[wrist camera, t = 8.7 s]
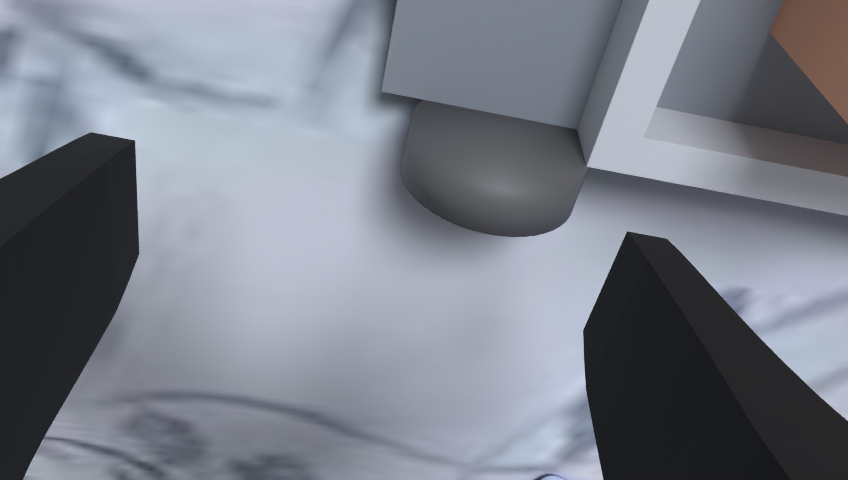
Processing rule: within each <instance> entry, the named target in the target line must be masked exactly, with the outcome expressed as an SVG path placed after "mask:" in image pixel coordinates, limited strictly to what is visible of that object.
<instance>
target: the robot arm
mask: <svg viewBox="0 0 848 480" xmlns="http://www.w3.org/2000/svg"><path fill="white" fill-rule="evenodd" d="M138 255H139V238H138V211H137V183H136V156H135V141H134V140H129V139H124V138H118V137H113V136H107V135H102V134H97V133H89V134H86V135H84V136H82V137H80V138H78V139H76V140H74V141H72V142H70V143H68V144H66V145H64V146H62V147H60V148H58V149H56V150H54V151H52V152H50V153H49V154H47V155H45V156H43V157H41V158H39V159H37V160H35V161H34V162H32V163H30V164H28V165H26V166H24V167H22V168H20V169H18V170H17V171H15V172H13V173H11V174H9V175H7V176H5V177H3V178H1V179H0V480H23V478H24V476H25V473H26V471H27V469H28V467H29V465H30V463H31V461H32V459H33V457H34V455H35V453H36V451H37V449H38V447H39V445H40V444H41V442H42V440H43V438H44V436H45V434H46V433H47V431H48V429H49V427H50V426H51V424H52V422H53V420H54V419H55V417H56V415H57V414H58V412H59V410H60V408H61V407H62V405H63V403H64V402H65V400H66V398H67V396H68V395H69V393H70V391H71V389H72V388H73V386H74V384H75V383H76V381H77V379H78V377H79V376H80V374H81V372H82V371H83V369H84V367H85V365H86V364H87V362H88V360H89V358H90V357H91V355H92V353H93V352H94V350H95V348H96V346H97V344H98V343H99V341H100V339H101V337H102V336H103V334H104V332H105V330H106V329H107V327H108V325H109V323H110V322H111V320H112V318H113V316H114V314H115V313H116V311H117V308H118V306H119V303H120V301H121V299H122V296H123V294H124V291H125V289H126V287H127V284H128V281H129V279H130V276H131V274H132V271H133V268H134V266H135V263H136V261H137V258H138ZM583 335H584V363H585V378H586V391H587V396H588V402H589V407H590V413H591V418H592V423H593V428H594V434H595V439H596V444H597V449H598V454H599V459H600V464H601V469H602V474H603V479H604V480H848V421H847V420H846V419H845V418H843V417H842V416H841V415H840V414H839V413H837V412H836V411H835V410H834V409H833V408H832V407H831V406H829V405H828V404H827V403H826V402H825V401H824V400H823V399H822V398H821V397H819V396H818V395H817V394H816V393H815V392H814V391H813V390H812V389H811V388H810V387H809V386H808V385H807V384H806V383H805V382H804V381H803V380H801V379H800V378H799V377H798V376H797V375H796V374H795V373H794V372H793V371H792V370H791V369H790V368H789V367H788V366H787V365H786V364H785V363H784V362H783V361H782V360H781V359H780V358H779V357H778V356H777V355H776V354H775V353H774V352H773V351H772V350H771V349H770V348H769V347H768V346H767V345H766V344H765V343H764V342H763V341H762V340H761V339H760V338H759V337H758V336H757V335H756V334H755V333H754V331H753V330H752V329H751V328H750V327H749V326H748V325H747V324H746V323H745V322H744V321H743V320H742V319H741V318H740V317H739V315H738V314H737V313H736V312H735V311H734V310H733V309H732V308H731V307H730V306H729V305H728V304H727V302H726V301H725V300H724V299H723V298H722V297H721V296H720V295H719V294H718V293H717V291H716V290H715V289H714V288H713V287H712V286H711V285H710V284H709V283H708V281H707V280H706V279H705V278H704V277H703V276H702V275H701V274H700V273H699V272H698V270H697V269H696V268H695V267H694V266H693V265H692V264H691V263H690V262H689V261H688V260H687V259H686V258H685V256H684V255H683V254H682V253H681V252H680V251H679V250H678V249H677V248H676V247H675V246H674V245H673V244H672V243H670V242H669V241H668V240H667V239H665V238H659V237H654V236H648V235H643V234H637V233H632V232H627V233H626V235H625V238H624V240H623V242H622V244H621V247H620V249H619V251H618V253H617V256H616V258H615V260H614V262H613V265H612V267H611V269H610V271H609V274H608V276H607V278H606V280H605V283H604V285H603V287H602V289H601V292H600V294H599V296H598V298H597V301H596V303H595V305H594V307H593V310H592V312H591V314H590V316H589V319H588V321H587V323H586V325H585V328H584V330H583ZM541 480H564V479H562V478H560V477H557V476H546V477H544V478H542V479H541Z"/></svg>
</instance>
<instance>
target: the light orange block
mask: <svg viewBox="0 0 848 480" xmlns="http://www.w3.org/2000/svg"><path fill="white" fill-rule="evenodd" d="M769 32H770V33H771V35H772V36H773V37H774V38H775V39H776V41H777V42H778V43H779V44H780V45H781V46H782V48H783V49H784V50H785V51H786V52H787V53H788V55H789V56H790V57H791V58H792V59H793V60H794V62H795V63H796V64H797V65H798V66H799V68H800V69H801V70H802V71H803V72H804V73H805V75H806V76H807V77H808V78H809V79H810V80H811V82H812V83H813V84H814V85H815V86H816V88H817V89H818V90H819V91H820V92H821V93H822V95H823V96H824V97H825V98H826V99H827V100H828V102H829V103H830V104H831V105H832V106H833V107H834V109H835V110H836V111H837V112H838V113H839V115H840V116H841V117H842V118H843V119H844V120H845V122H846V123H847V124H848V0H784V2H783V4H782V6H781V8H780V10H779V12H778V14H777V16H776V18H775V20H774V22H773V24H772V26H771V28H770V31H769Z"/></svg>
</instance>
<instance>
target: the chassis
mask: <svg viewBox="0 0 848 480" xmlns="http://www.w3.org/2000/svg"><path fill="white" fill-rule="evenodd" d="M783 2H784V0H397V4H396V10H395V16H394V21H393V27H392V33H391V39H390V44H389V50H388V56H387V62H386V67H385V73H384V79H383V85H382V90H381V92H386V93H391V94H397V95H402V96H407V97H412V98H417V99H423V100H422V101H420V102H419V103H418V104H417V105H416V106H415V108H414V110H413V111H412V115H411V120H410V125H409V130H408V135H407V139H406V144H405V149H404V154H403V159H402V164H401V175H402V179H403V181H404V183H405V185H406V187H407V189H408V190H409V192H410V193H411V194H412V195H413V196H414V197H415V199H416V200H417V201H419V202H420V203H421V204H422V205H423V206H424V207H426V208H427V209H429V210H430V211H431V212H433V213H435V214H436V215H438V216H440V217H441V218H443V219H445V220H447V221H450V222H452V223H454V224H456V225H459V226H461V227H464V228H467V229H470V230H474V231H477V232H481V233H486V234H490V235H497V236H507V237H527V236H534V235H539V234H544V233H547V232H550V231H552V230H554V229H556V228H558V227H560V226H561V225H562V224H563V223H565V222H566V221H567V219H568V218H569V217H570V215H571V212H572V210H573V207H574V205H575V202H576V199H577V197H578V194H579V191H580V189H581V186H582V183H583V181H584V178H585V175H586V173H587V170H588V168H589V167H591V168H597V169H602V170H607V171H612V172H618V173H623V174H628V175H634V176H639V177H644V178H650V179H655V180H660V181H665V182H671V183H676V184H681V185H687V186H692V187H697V188H703V189H708V190H713V191H718V192H724V193H729V194H734V195H740V196H745V197H750V198H755V199H761V200H766V201H771V202H777V203H782V204H787V205H793V206H798V207H803V208H808V209H814V210H819V211H824V212H830V213H835V214H840V215H845V216H848V124H847V123H846V122H845V120H844V119H843V118H842V117H841V116H840V115H839V113H838V112H837V111H836V110H835V109H834V107H833V106H832V105H831V104H830V103H829V102H828V100H827V99H826V98H825V97H824V96H823V95H822V93H821V92H820V91H819V90H818V89H817V88H816V86H815V85H814V84H813V83H812V82H811V80H810V79H809V78H808V77H807V76H806V75H805V73H804V72H803V71H802V70H801V69H800V68H799V66H798V65H797V64H796V63H795V62H794V60H793V59H792V58H791V57H790V56H789V55H788V53H787V52H786V51H785V50H784V49H783V48H782V46H781V45H780V44H779V43H778V42H777V41H776V39H775V38H774V37H773V36H772V35H771V33H770V32H769V31H770V28H771V26H772V24H773V22H774V20H775V18H776V16H777V14H778V12H779V10H780V8H781V6H782V4H783ZM576 129H577V130H576Z"/></svg>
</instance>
